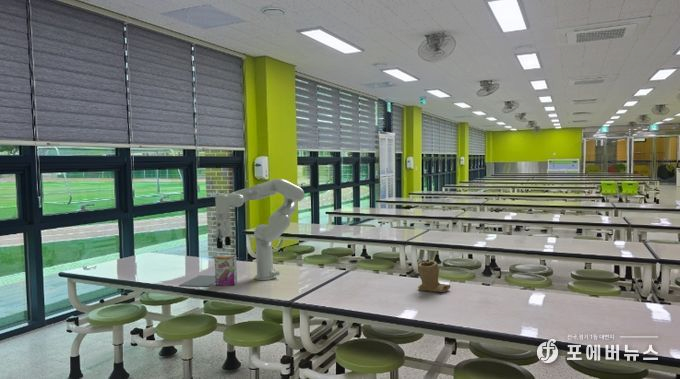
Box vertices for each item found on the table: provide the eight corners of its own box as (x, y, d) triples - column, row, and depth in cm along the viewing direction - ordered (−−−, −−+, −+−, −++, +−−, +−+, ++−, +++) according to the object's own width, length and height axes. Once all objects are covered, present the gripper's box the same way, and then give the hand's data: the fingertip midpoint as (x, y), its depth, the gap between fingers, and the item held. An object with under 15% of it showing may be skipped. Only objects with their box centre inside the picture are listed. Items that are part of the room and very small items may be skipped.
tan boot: (413, 292, 228) (413, 262, 227) (423, 286, 238) (422, 258, 237) (442, 296, 219) (442, 265, 218) (451, 289, 229) (450, 260, 228)
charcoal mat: (226, 276, 271) (226, 275, 271) (208, 286, 250) (208, 286, 250) (199, 276, 275) (199, 275, 275) (179, 286, 254) (179, 285, 254)
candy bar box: (215, 285, 252) (213, 256, 251) (218, 283, 257) (217, 254, 256) (234, 285, 251) (233, 256, 250) (237, 283, 256) (236, 254, 255)
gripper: (221, 218, 242) (222, 249, 243) (235, 214, 259) (236, 244, 260) (209, 218, 244) (210, 249, 245) (223, 214, 261) (224, 243, 261)
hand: (223, 246), depth 252 cm, fingers open, 9 cm apart
